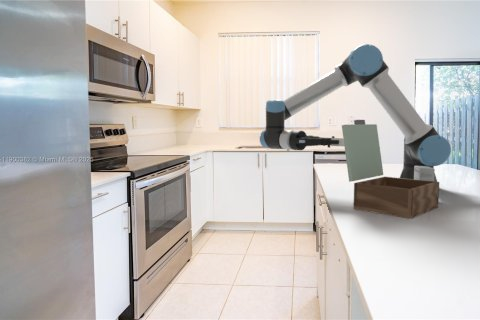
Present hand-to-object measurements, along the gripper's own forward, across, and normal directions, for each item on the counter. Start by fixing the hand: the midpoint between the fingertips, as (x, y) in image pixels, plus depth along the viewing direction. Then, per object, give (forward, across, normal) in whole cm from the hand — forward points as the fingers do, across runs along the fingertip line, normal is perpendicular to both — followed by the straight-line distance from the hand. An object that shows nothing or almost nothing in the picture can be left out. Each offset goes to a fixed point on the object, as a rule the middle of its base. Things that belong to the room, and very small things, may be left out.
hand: (348, 142), depth 137 cm
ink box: (+19, -19, -20) cm, 33 cm away
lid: (+6, 0, -2) cm, 6 cm away
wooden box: (+18, 0, -20) cm, 27 cm away
